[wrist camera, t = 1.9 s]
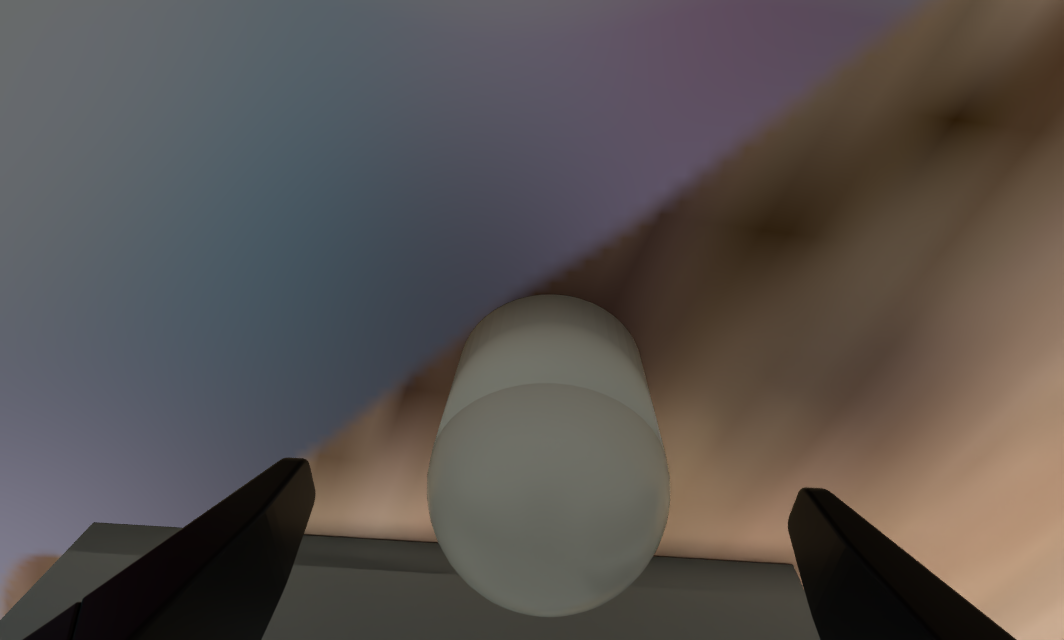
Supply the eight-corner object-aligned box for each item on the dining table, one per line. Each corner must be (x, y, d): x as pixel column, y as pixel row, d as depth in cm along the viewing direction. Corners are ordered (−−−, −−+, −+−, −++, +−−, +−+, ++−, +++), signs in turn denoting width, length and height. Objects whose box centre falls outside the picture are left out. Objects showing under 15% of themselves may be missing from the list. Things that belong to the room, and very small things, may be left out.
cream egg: (654, 299, 12) (726, 493, 7) (629, 450, 14) (669, 681, 9) (456, 289, 12) (383, 473, 7) (462, 440, 14) (409, 665, 9)
